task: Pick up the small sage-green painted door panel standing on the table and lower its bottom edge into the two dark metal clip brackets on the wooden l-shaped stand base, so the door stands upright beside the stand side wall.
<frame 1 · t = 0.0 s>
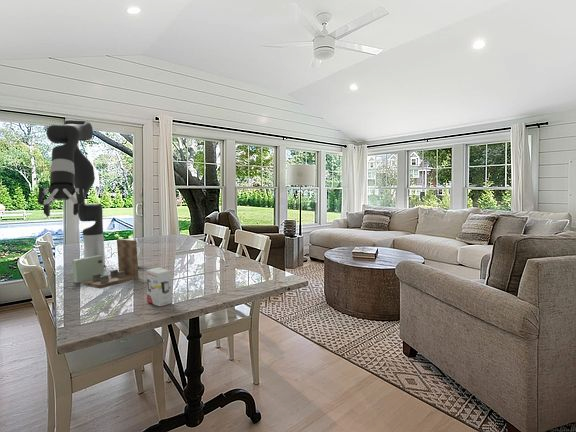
hand: (61, 215, 123), 31 cm above the table, tool tilted 20°, fingers open, 8 cm apart
door: (89, 279, 154), on the table
wooden l-shaped stand: (111, 280, 151), on the table
ink box: (159, 303, 121), on the table
lightbulb: (134, 266, 179), on the table
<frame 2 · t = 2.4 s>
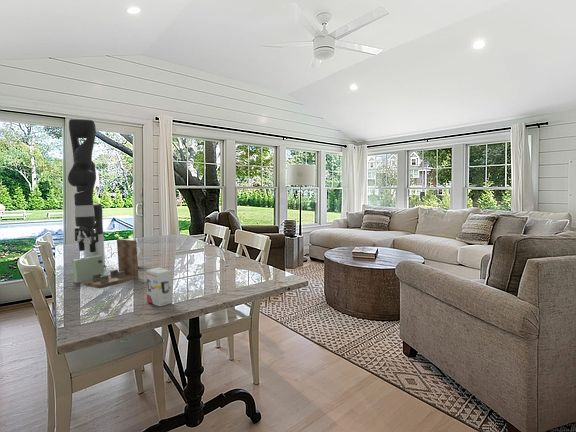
hand: (87, 251, 153), 13 cm above the table, tool pointing down, fingers open, 8 cm apart
nothing on the table moved.
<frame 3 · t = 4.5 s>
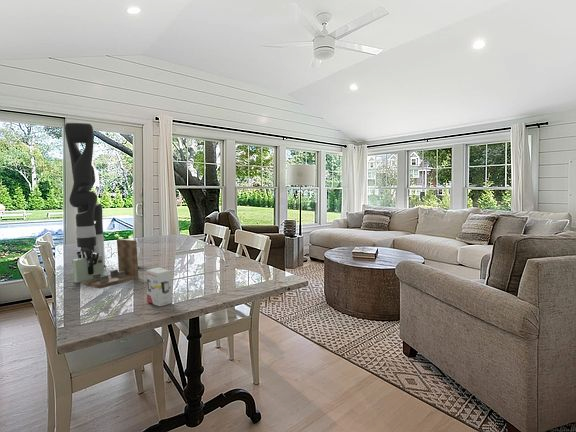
hand: (89, 273, 154), 3 cm above the table, tool pointing down, fingers closed on door, 2 cm apart
door: (89, 279, 154), on the table, touching gripper
everything else where it was.
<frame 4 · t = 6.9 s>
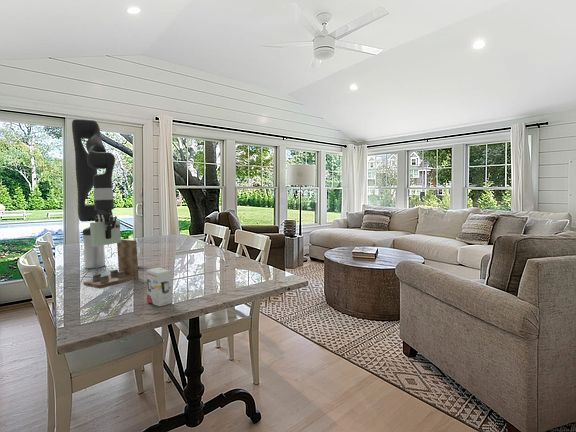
hand: (106, 238, 148), 19 cm above the table, tool pointing down, fingers closed on door, 2 cm apart
door: (106, 244, 148), point 17 cm above the table, touching gripper
everything else where it was.
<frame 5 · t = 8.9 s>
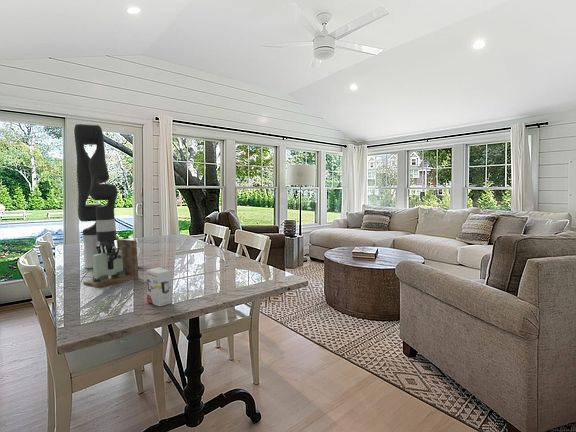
hand: (108, 268, 149), 6 cm above the table, tool pointing down, fingers closed on door, 2 cm apart
door: (108, 275, 149), point 3 cm above the table, touching gripper
everything else where it was.
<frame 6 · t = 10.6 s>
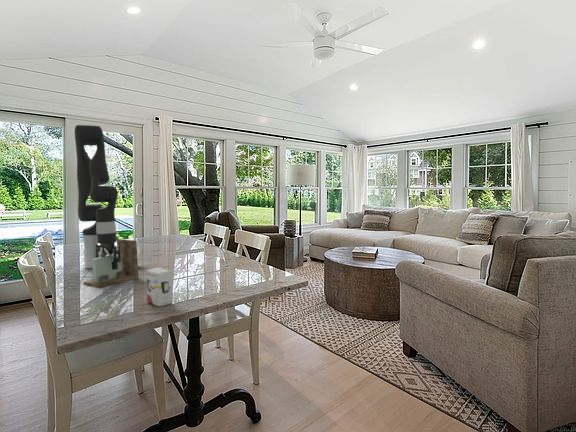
hand: (108, 268, 149), 6 cm above the table, tool pointing down, fingers open, 8 cm apart
door: (108, 279, 149), point 1 cm above the table, touching wooden l-shaped stand
everything else where it was.
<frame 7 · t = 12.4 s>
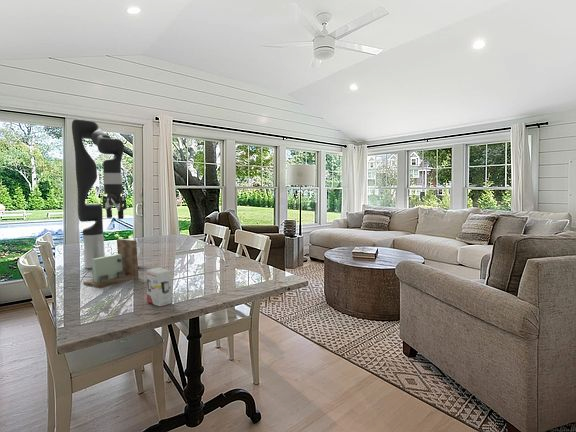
hand: (115, 218, 156), 27 cm above the table, tool pointing down, fingers open, 8 cm apart
nothing on the table moved.
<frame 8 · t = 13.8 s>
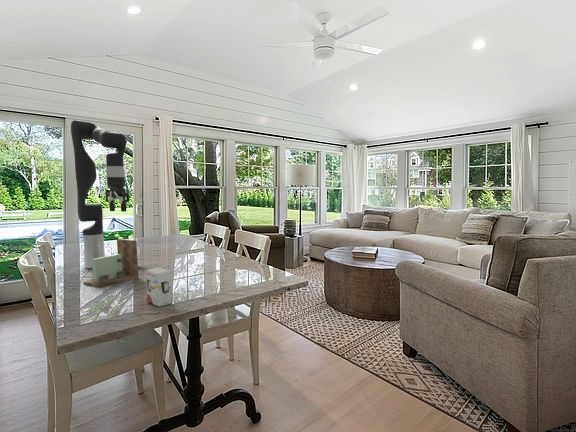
hand: (118, 211, 159), 30 cm above the table, tool pointing down, fingers open, 8 cm apart
nothing on the table moved.
at the end: door 0.6 cm from the target spot on the wooden l-shaped stand, point 1.2 cm above the wooden l-shaped stand's base; door tilted 0°; the gripper is holding nothing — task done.
